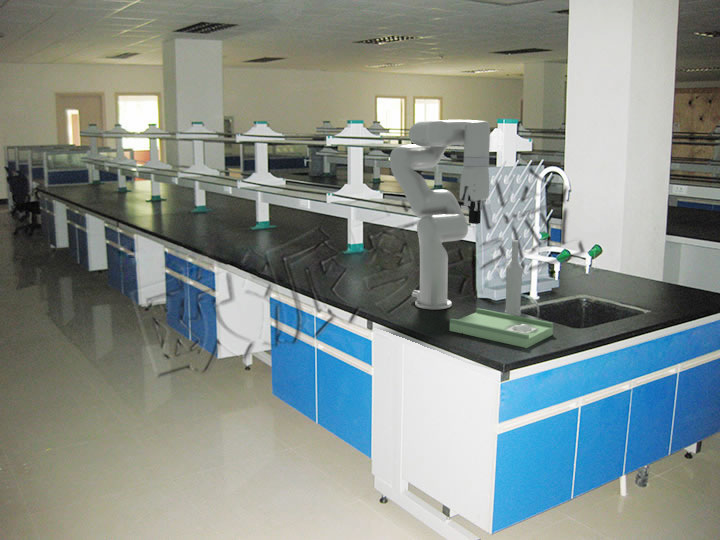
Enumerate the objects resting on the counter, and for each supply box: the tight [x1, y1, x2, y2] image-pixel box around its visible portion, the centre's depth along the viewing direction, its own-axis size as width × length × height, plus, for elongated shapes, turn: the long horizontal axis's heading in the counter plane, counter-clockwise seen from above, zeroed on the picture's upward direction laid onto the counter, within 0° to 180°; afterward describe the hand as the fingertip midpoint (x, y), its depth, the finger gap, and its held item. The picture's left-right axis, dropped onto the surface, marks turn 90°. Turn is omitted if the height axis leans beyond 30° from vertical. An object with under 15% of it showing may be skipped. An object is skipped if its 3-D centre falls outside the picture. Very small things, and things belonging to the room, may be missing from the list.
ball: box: [517, 324, 531, 332], centre depth 204 cm, size 4×4×4 cm
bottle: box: [504, 239, 524, 316], centre depth 223 cm, size 5×5×25 cm
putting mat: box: [449, 307, 554, 349], centre depth 208 cm, size 26×16×4 cm, turn 49°
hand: (474, 223), depth 212 cm, fingers closed
